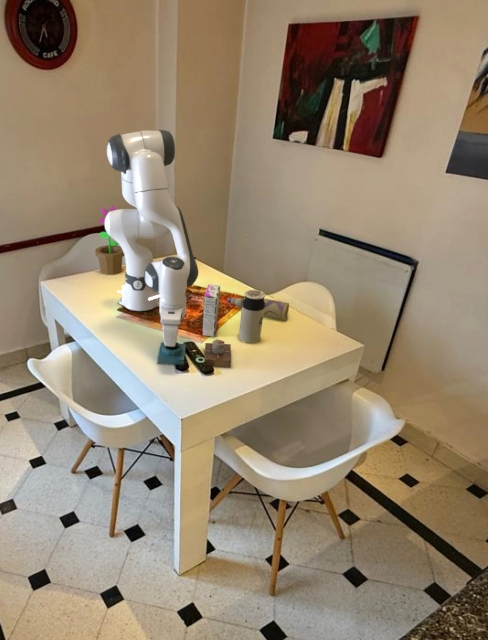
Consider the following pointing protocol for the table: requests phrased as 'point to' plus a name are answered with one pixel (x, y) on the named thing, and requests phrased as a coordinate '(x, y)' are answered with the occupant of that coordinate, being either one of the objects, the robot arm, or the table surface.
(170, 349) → the button
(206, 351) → the dial panel
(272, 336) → the table surface
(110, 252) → the flowerpot
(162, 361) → the button box
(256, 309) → the travel mug
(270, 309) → the decorative bottle
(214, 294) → the candy bar box
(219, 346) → the dial knob
